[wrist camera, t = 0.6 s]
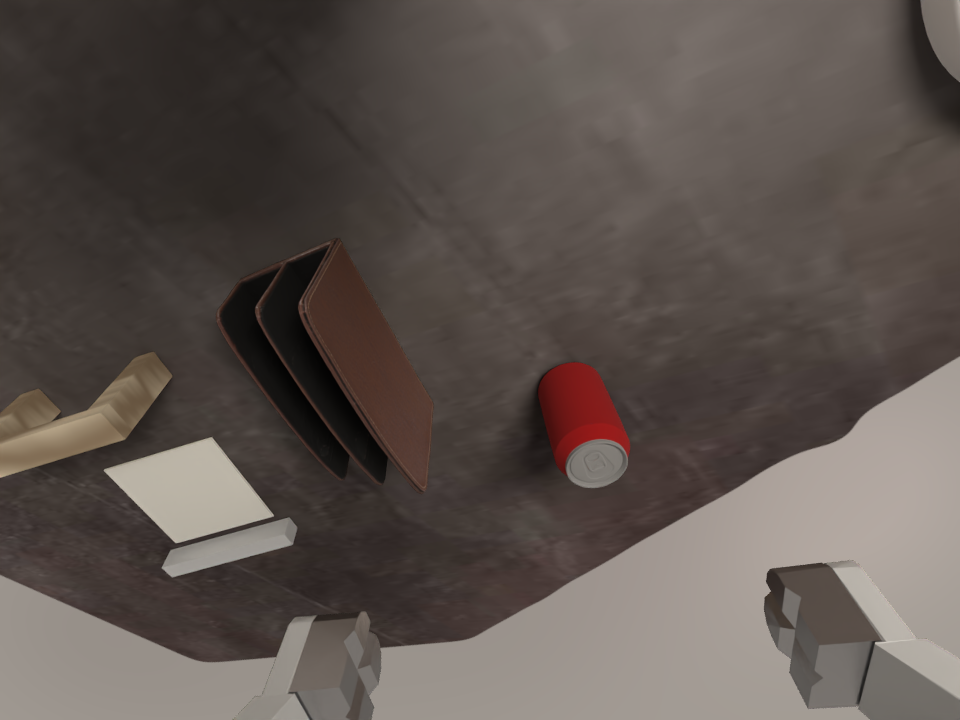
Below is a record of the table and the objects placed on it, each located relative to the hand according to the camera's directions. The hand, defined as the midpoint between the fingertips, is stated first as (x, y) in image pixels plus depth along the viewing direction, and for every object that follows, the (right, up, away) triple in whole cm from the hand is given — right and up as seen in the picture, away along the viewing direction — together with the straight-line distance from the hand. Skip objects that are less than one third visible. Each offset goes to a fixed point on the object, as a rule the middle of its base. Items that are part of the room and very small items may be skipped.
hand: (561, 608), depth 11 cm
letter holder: (-15, +7, +41) cm, 44 cm away
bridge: (-39, +3, +41) cm, 57 cm away
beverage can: (+8, +3, +45) cm, 45 cm away
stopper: (-32, -17, +54) cm, 65 cm away
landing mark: (-34, -10, +49) cm, 61 cm away
